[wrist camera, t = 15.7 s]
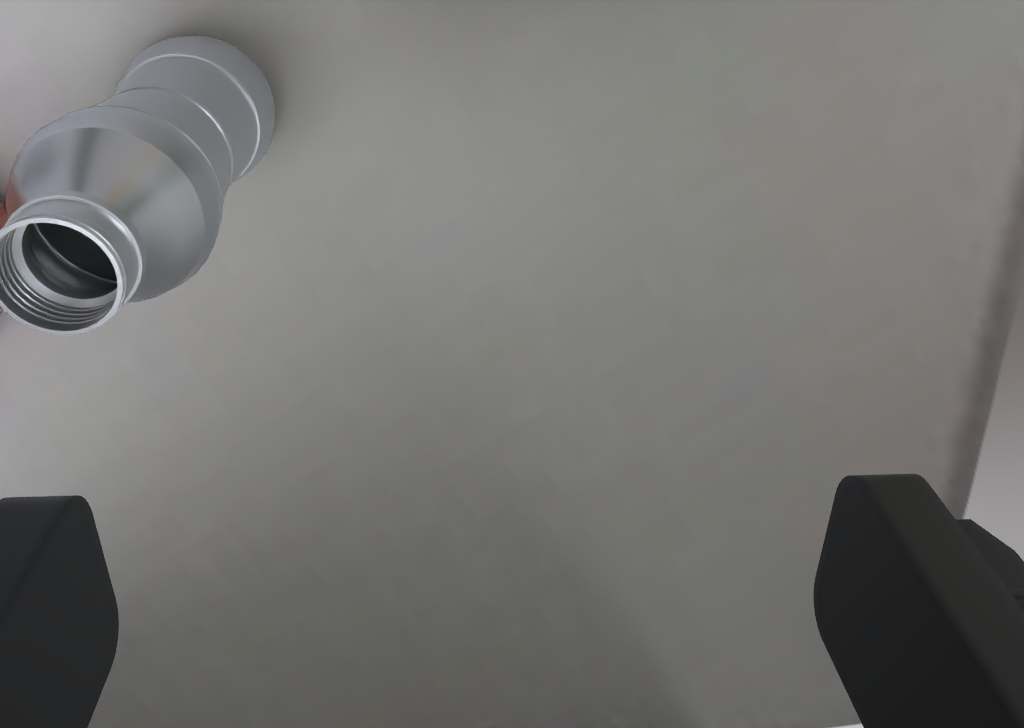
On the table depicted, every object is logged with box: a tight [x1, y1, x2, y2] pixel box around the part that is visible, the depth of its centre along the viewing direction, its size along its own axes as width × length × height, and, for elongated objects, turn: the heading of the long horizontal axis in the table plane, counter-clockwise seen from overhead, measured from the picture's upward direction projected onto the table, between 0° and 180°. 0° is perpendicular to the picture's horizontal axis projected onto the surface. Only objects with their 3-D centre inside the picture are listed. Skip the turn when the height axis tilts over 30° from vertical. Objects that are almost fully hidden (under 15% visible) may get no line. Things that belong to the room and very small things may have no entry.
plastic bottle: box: [0, 36, 275, 335], centre depth 34 cm, size 6×7×20 cm
